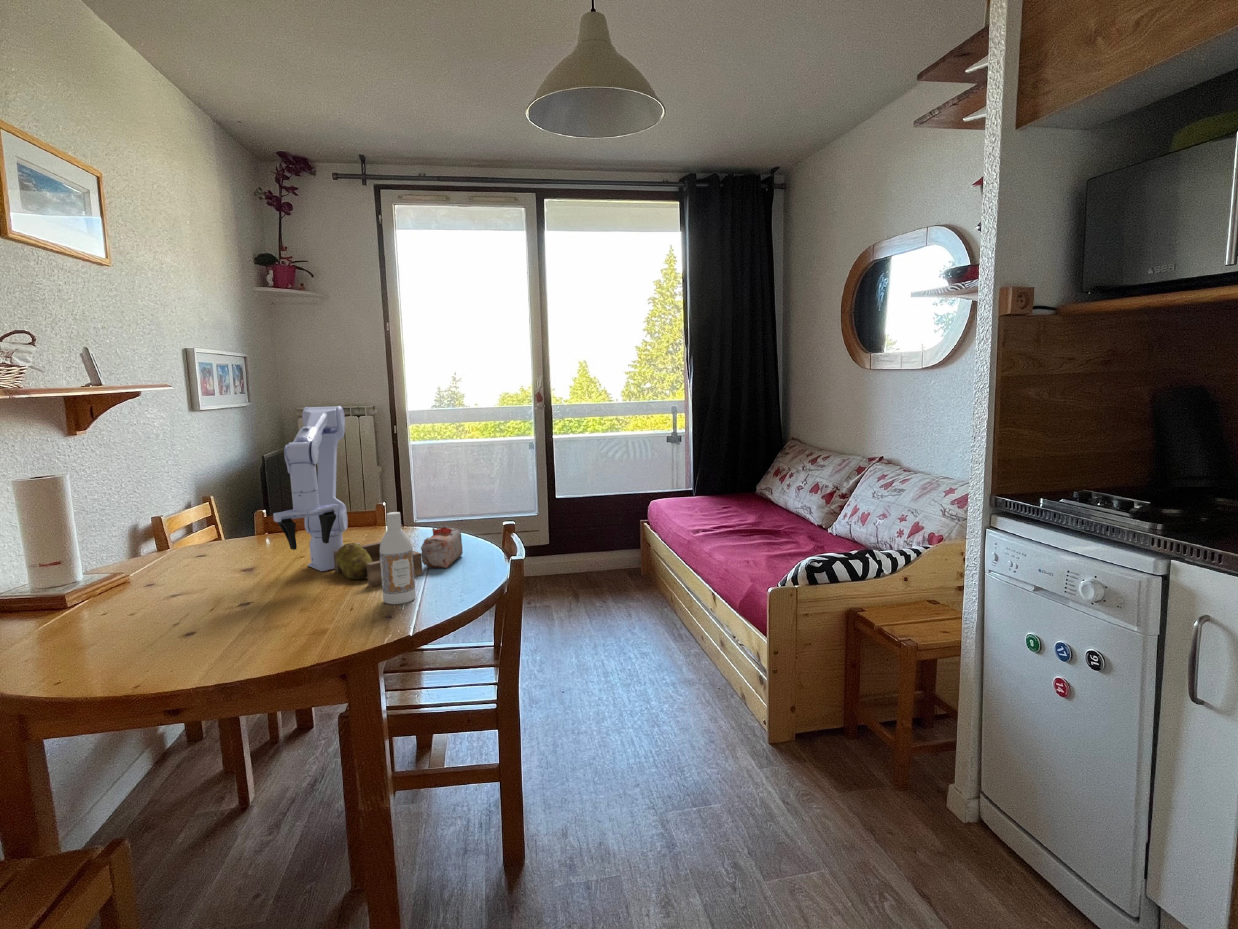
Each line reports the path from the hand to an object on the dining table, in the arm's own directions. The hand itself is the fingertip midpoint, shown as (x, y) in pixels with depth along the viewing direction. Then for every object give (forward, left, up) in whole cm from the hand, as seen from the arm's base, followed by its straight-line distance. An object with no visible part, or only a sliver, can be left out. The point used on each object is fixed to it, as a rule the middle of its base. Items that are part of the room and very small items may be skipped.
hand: (309, 545), depth 158 cm
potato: (+1, +10, -10) cm, 14 cm away
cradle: (+3, +15, -10) cm, 18 cm away
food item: (+8, +31, -10) cm, 34 cm away
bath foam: (+28, +8, -10) cm, 31 cm away
